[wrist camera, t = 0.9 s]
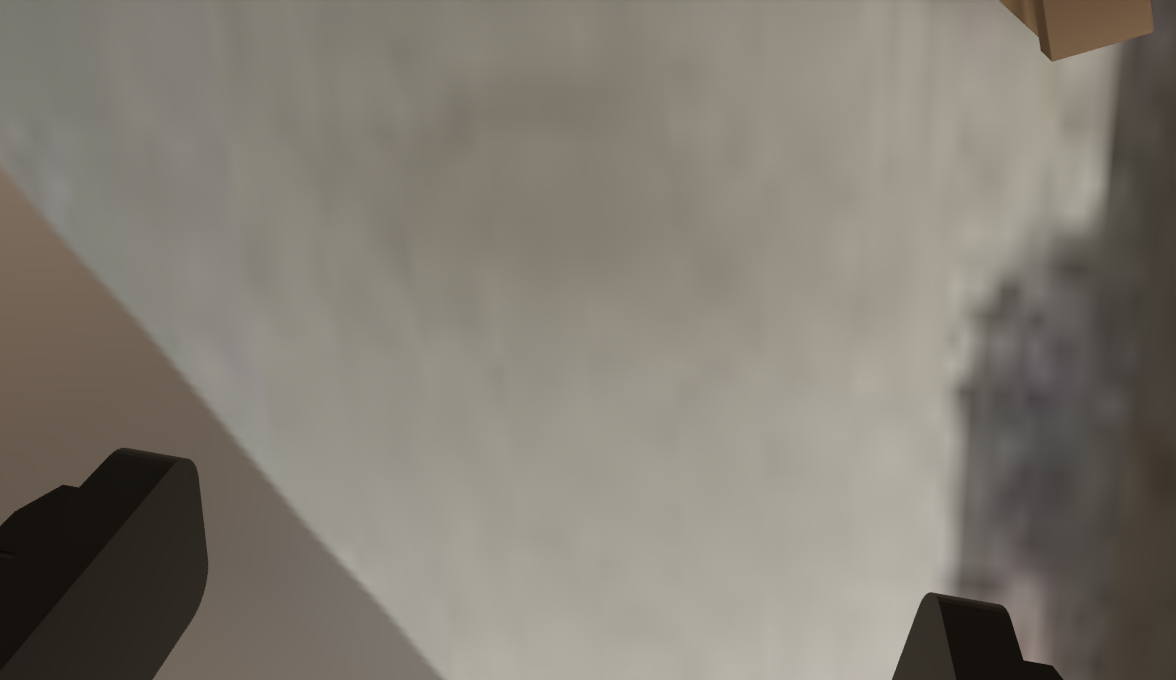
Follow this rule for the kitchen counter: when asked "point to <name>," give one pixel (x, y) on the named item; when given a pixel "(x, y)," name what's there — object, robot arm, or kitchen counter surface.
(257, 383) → the kitchen counter surface
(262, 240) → the kitchen counter surface
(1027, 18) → the gate
